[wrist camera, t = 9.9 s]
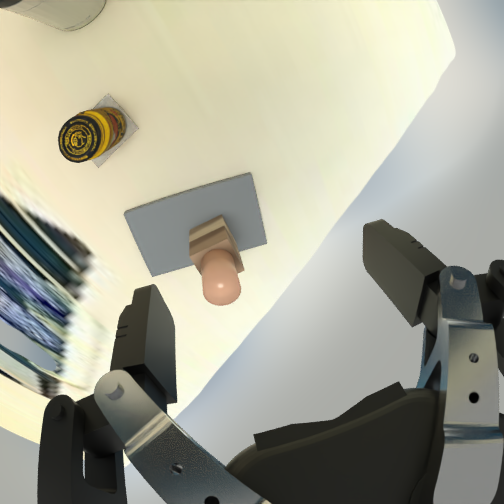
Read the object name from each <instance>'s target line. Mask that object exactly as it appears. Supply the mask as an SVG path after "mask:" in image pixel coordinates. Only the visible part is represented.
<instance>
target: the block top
mask: <svg viewBox="0 0 504 504" xmlns="http://www.w3.org/2000/svg"><path fill="white" fill-rule="evenodd" d="M213 249H223V250H226V251H228V252H229V253H230V254H231V255H232V256H233V259H234V263H235V267H236V270H237V274H238V273H240V272H242V271H244V267H243V264H242V260H241V257H240V254H239V253H238V251H237V249H236V247H235V245H234V243H233V241H232V239H231V237H230V235H229V233H228V231H227V230H226V228H225V226H222V227H220V228H218V229H216V230H214V231H211V232H209V233H207V234H205V235H203V236H201V237H199V238H197V239H195V240H193V241H191V242H189V257H190V259H191V260H192V262H193V263H194V265H195V266H196V268H197V270H198V271H199V273H200V274H201V276H202V273H201V260H202V257H203V256H204V255H205V254H206V253H207V252H208V251H210V250H213Z"/></svg>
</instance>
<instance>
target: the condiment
mask: <svg viewBox="0 0 504 504" xmlns="http://www.w3.org/2000/svg"><path fill="white" fill-rule="evenodd" d="M138 129H139V128H138V127H137V126H136V125H135V123H134V122H133V121H132V120H131V119H130V118H129V116H128V115H127V114H126V113H125V112H124V111H123V110H122V109H121V107H120V106H119V105H118V104H117V103H116V102H115V101H114V100H113V99H112V97H111V96H110V95H109V94H107V95H106V96H105V97H104V98H103V99H102V100H101V101H100V102H99V103H98V104H97V105H96V106H95V107H94V108H93V109H91V110H87V111H83V112H80V113H79V114H77V115H76V116H74V117H72V118H71V119H69V120H68V121H67V122H66V123H65V124H64V125H63V126H62V128H61V130H60V132H59V136H58V142H59V149H60V152H61V153H62V155H63V156H64V157H65V158H66V159H67V160H69V161H71V162H76V163H80V162H84V161H87V160H92V161H93V162H94V163H95V164H96V166H97V167H98V168H99V167H100V166H101V165H102V164H103V163H104V162H105V161H106V159H107V158H108V157H109V156H110V155H111V154H112V153H113V152H114V151H115V150H116V149H117V148H118V147H120V146H121V145H122V144H123V143H124V142H125V141H126V140H127V139H128V138H129V137H130V136H131V135H132V134H133V133H134V132H135V131H136V130H138Z"/></svg>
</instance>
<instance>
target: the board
mask: <svg viewBox="0 0 504 504" xmlns="http://www.w3.org/2000/svg"><path fill="white" fill-rule="evenodd" d="M221 214H222V216H223V218H224V220H225V222H226V224H227V226H228V228H229V230H230V232H231V234H232V235H233V237H234V239H235V241H236V244H237V247H238V250H239V252H240V251H243V250H247V249H250V248H253V247H257V246H260V245H264V244H267V240H266V236H265V231H264V227H263V222H262V218H261V214H260V209H259V205H258V200H257V196H256V191H255V187H254V183H253V178H252V174H251V173H246V174H243V175H239V176H235V177H232V178H228V179H224V180H221V181H217V182H214V183H210V184H207V185H204V186H200V187H197V188H194V189H190V190H187V191H184V192H181V193H178V194H174V195H171V196H168V197H165V198H162V199H159V200H156V201H153V202H150V203H147V204H144V205H141V206H139V207H136V208H133V209H130V210H127V211H125V213H124V216H125V219H126V221H127V223H128V226H129V228H130V230H131V232H132V235H133V237H134V239H135V241H136V244H137V246H138V248H139V250H140V252H141V254H142V257H143V259H144V261H145V263H146V265H147V267H148V269H149V271H150V273H151V275H152V277H154V276H157V275H161V274H164V273H168V272H171V271H174V270H178V269H181V268H185V267H188V266H191V265H194V263H193V262H192V260H191V259H190V257H189V230H190V229H192V228H194V227H196V226H198V225H200V224H202V223H204V222H207V221H209V220H211V219H213V218H215V217H217V216H219V215H221Z"/></svg>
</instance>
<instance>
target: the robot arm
mask: <svg viewBox="0 0 504 504" xmlns="http://www.w3.org/2000/svg"><path fill="white" fill-rule="evenodd" d="M105 2H106V0H0V8H1V9H4V10H8V11H11V12H14V13H17V14H20V15H23V16H26V17H29V18H32V19H34V20H37V21H40V22H42V23H45V24H47V25H50V26H52V27H55V28H57V29H60V30H63V31H72V30H77V29H79V28H81V27H83V26H85V25H87V24H88V23H90V22H91V21H92V20H93V19H94V18H95V17H96V16H97V15H98V14H99V13H100V12H101V10H102V9H103V7H104V5H105ZM363 263H364V266H365V269H366V270H367V272H368V273H369V274H370V276H371V277H372V278H373V279H374V280H375V282H376V283H377V284H378V285H379V286H380V288H381V289H382V290H383V291H384V293H385V294H386V295H387V296H388V297H389V299H390V300H391V301H392V302H393V304H394V305H395V306H396V307H397V309H398V310H399V311H400V312H401V314H402V315H403V316H404V318H405V319H406V320H407V321H408V323H409V324H410V325H411V326H412V327H414V326H416V325H418V324H420V323H422V322H423V323H424V325H425V328H424V333H423V348H422V361H421V371H420V376H419V380H418V383H417V386H416V388H408V389H403V387H402V386H401V384H400V383H399V382H396V383H394V384H392V385H390V386H388V387H386V388H384V389H382V390H380V391H378V392H375V393H373V394H371V395H369V396H367V397H365V398H364V399H363V400H362V401H360V402H359V403H357V404H356V405H354V406H353V407H352V408H350V409H349V410H347V411H346V412H345V413H343V414H342V415H340V416H339V417H337V418H335V419H333V420H328V421H320V422H310V423H299V424H290V425H287V426H284V427H281V428H277V429H273V430H269V431H265V432H262V433H258V434H254V439H255V444H253V445H251V446H249V447H247V448H246V449H244V450H243V451H241V452H240V453H239V454H238V455H236V456H235V457H234V458H233V459H232V460H231V461H230V462H229V463H228V465H227V466H225V465H223V464H222V463H221V462H220V461H218V460H217V459H216V458H215V457H214V456H212V455H211V454H210V453H209V452H207V451H206V450H205V449H204V448H203V447H202V446H200V445H199V444H198V443H197V442H196V441H195V440H194V439H193V438H192V437H191V436H189V435H188V434H187V433H186V432H185V431H184V430H183V429H182V428H181V427H180V426H179V425H178V424H177V423H176V422H175V421H174V420H173V419H172V418H171V417H170V416H169V415H168V414H167V404H171V403H177V388H176V360H175V325H174V321H173V318H172V315H171V313H170V311H169V309H168V307H167V305H166V303H165V302H164V300H163V298H162V296H161V294H160V292H159V290H158V288H157V286H156V285H155V284H152V285H148V286H145V287H141V288H138V289H135V291H134V295H133V300H132V304H131V305H127V306H126V307H125V309H124V310H123V312H122V313H121V315H120V317H119V321H118V326H117V328H118V330H117V332H116V339H115V342H114V348H113V354H112V360H111V366H110V372H108V373H106V374H105V375H103V376H102V377H101V378H100V380H99V381H98V382H97V384H96V386H95V389H94V394H92V395H90V396H87V397H85V398H83V399H81V400H79V401H77V402H75V401H74V400H73V399H71V398H70V397H69V396H67V395H58V396H56V397H54V398H53V399H52V400H51V401H50V402H49V403H48V405H47V406H46V408H45V411H44V417H43V424H42V431H41V440H40V450H39V463H38V491H37V494H38V495H37V497H38V504H127V496H126V487H125V475H124V462H123V449H124V452H125V454H126V456H127V457H128V459H129V460H130V461H131V463H132V464H133V465H134V467H135V468H136V469H137V470H138V471H139V473H140V474H141V475H142V476H143V478H144V479H145V480H146V481H147V482H148V483H149V485H150V486H151V487H152V488H153V489H154V490H155V491H156V492H157V493H158V495H159V496H160V497H161V498H162V499H163V500H164V501H165V502H166V503H167V504H504V414H502V413H499V377H498V369H499V370H500V372H501V373H502V375H503V376H504V318H503V317H504V260H495V261H493V262H492V263H491V264H490V267H489V270H488V273H486V274H479V275H473V274H472V273H471V272H470V271H469V270H467V269H465V268H463V267H460V266H448V267H447V266H446V265H444V264H443V263H442V262H441V261H440V260H439V259H438V258H437V257H436V256H435V255H433V254H432V253H431V252H430V251H429V250H428V249H427V248H425V247H423V245H422V244H421V243H420V242H418V241H417V240H416V239H415V238H414V237H412V236H411V235H410V234H409V233H407V232H405V231H402V230H400V229H398V228H393V227H392V226H391V225H389V223H387V222H386V221H385V220H383V219H381V220H377V221H374V222H370V223H367V224H365V225H364V227H363ZM83 451H84V452H85V479H84V476H83Z"/></svg>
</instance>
